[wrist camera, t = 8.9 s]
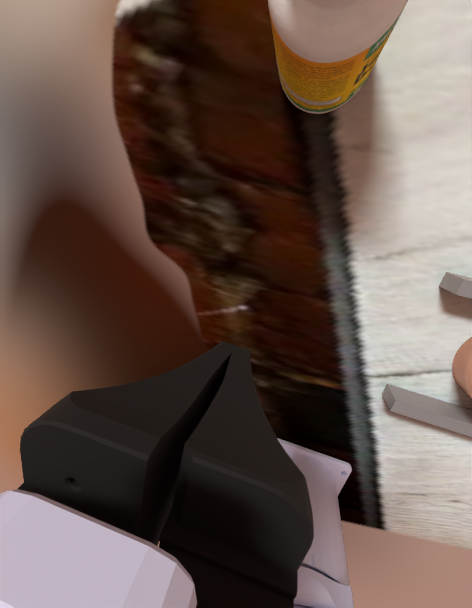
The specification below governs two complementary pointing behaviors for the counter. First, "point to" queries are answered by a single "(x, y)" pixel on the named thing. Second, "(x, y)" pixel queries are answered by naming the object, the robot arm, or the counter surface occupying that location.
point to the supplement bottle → (329, 47)
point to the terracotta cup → (464, 367)
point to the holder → (427, 406)
